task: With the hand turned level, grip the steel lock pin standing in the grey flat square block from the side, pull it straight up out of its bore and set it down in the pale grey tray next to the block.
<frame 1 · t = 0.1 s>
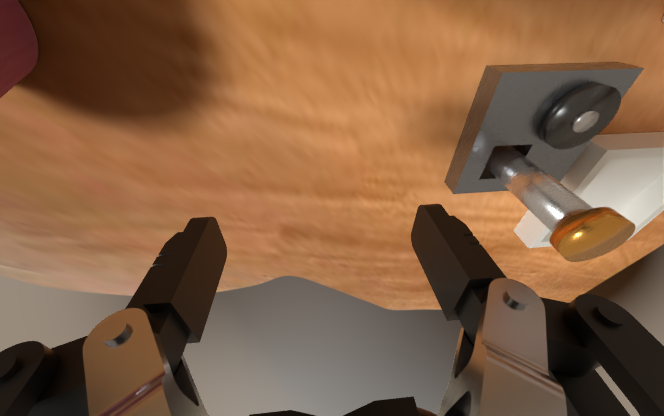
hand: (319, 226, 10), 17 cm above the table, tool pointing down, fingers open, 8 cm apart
tray: (595, 187, 34), on the table
lock pin: (491, 151, 29), resting in grey flat square block
grey flat square block: (518, 130, 27), on the table
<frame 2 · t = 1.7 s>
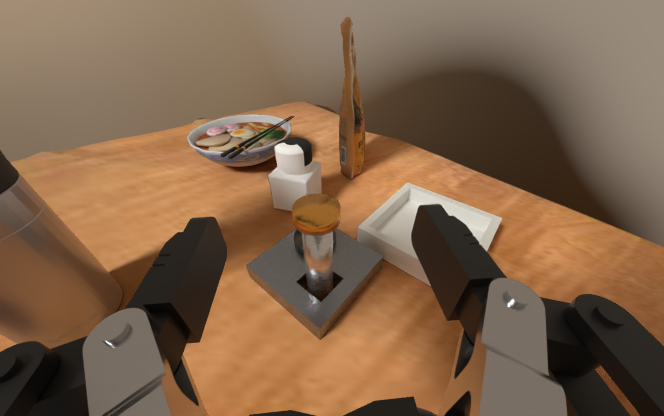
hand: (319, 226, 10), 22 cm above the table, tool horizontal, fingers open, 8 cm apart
tray: (425, 238, 40), on the table
pancake mix bag: (349, 162, 60), on the table
lock pin: (320, 292, 32), resting in grey flat square block
medicine bottle: (298, 201, 48), on the table
grey flat square block: (316, 272, 35), on the table
ramen bowl: (248, 160, 61), on the table
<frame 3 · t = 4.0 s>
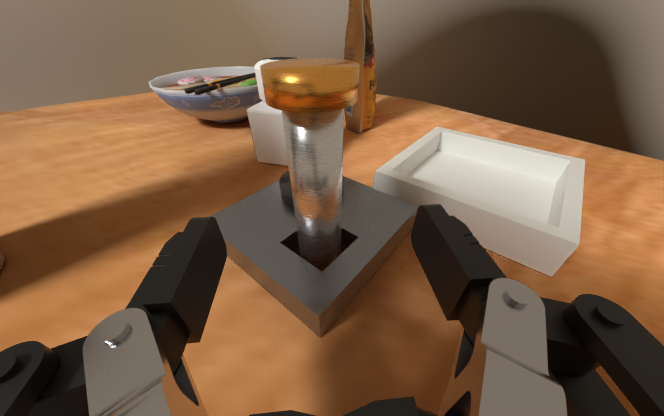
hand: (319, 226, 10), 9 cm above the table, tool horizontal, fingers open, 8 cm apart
tray: (471, 193, 28), on the table
pancake mix bag: (356, 119, 48), on the table
lock pin: (320, 261, 20), resting in grey flat square block
medicine bottle: (291, 156, 36), on the table
grey flat square block: (315, 234, 23), on the table
ramen bowl: (230, 118, 50), on the table
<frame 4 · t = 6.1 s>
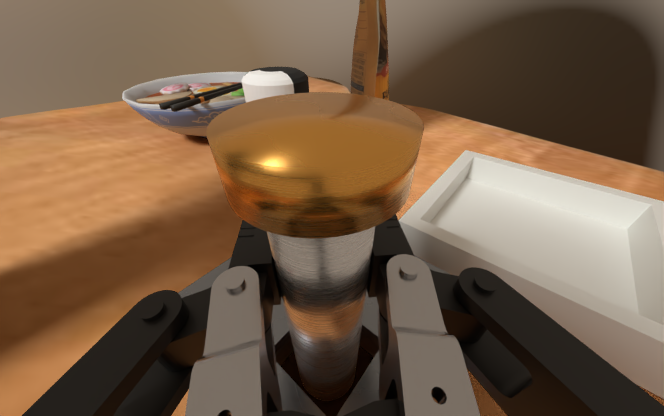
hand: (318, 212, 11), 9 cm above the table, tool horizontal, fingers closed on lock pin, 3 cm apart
tray: (519, 242, 22), on the table
pancake mix bag: (364, 133, 42), on the table
lock pin: (327, 366, 14), resting in grey flat square block, touching gripper
medicine bottle: (289, 183, 30), on the table
grey flat square block: (319, 314, 17), on the table
ramen bowl: (221, 131, 44), on the table
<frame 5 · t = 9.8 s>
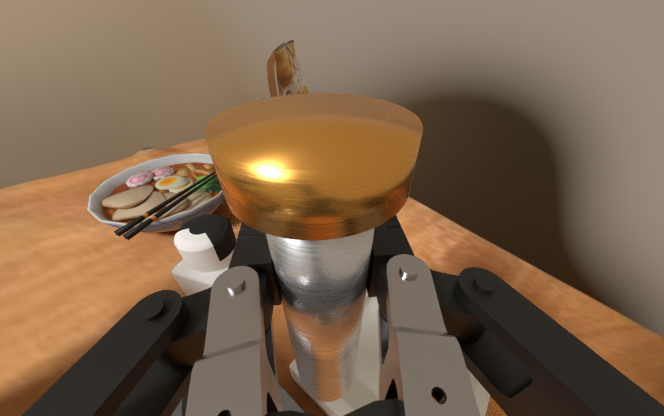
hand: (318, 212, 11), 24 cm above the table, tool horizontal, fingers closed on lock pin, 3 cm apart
tray: (395, 366, 28), on the table
pancake mix bag: (310, 217, 48), on the table
lock pin: (327, 367, 14), point 15 cm above the table, touching gripper
medicine bottle: (229, 289, 35), on the table
ramen bowl: (183, 214, 49), on the table
when the fingers open (11 cm above the table, at t = 13.3 s): lock pin drops 1 cm, resting on tray.
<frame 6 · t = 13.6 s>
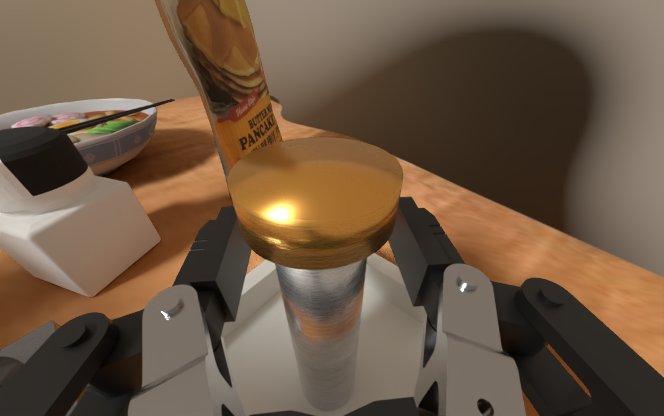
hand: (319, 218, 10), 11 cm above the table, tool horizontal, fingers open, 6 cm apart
tray: (327, 381, 16), on the table
pancake mix bag: (256, 174, 36), on the table
lock pin: (327, 378, 15), point 1 cm above the table, touching tray
medicine bottle: (105, 259, 24), on the table
ramen bowl: (93, 171, 37), on the table
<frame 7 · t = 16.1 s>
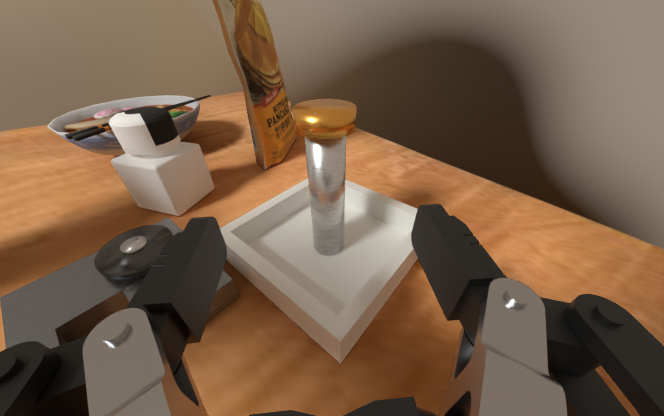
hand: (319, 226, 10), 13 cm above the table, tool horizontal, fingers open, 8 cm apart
tray: (328, 249, 27), on the table
pancake mix bag: (274, 150, 48), on the table
lock pin: (328, 244, 26), point 1 cm above the table, touching tray
medicine bottle: (179, 199, 35), on the table
grey flat square block: (134, 304, 22), on the table
ramen bowl: (151, 149, 49), on the table
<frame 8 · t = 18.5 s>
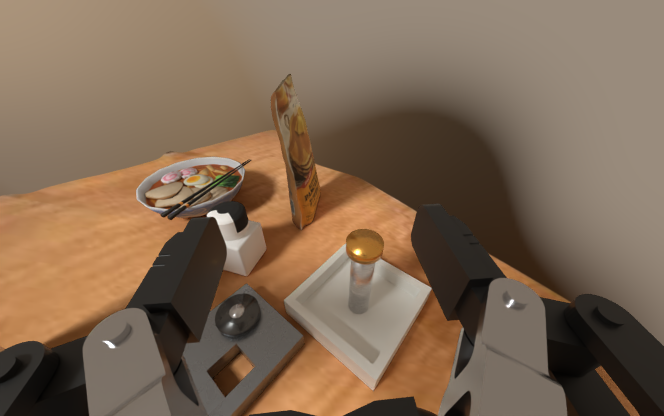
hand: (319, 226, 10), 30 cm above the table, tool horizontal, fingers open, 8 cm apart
tray: (357, 306, 40), on the table
pancake mix bag: (304, 208, 60), on the table
lock pin: (358, 304, 39), point 1 cm above the table, touching tray
medicine bottle: (242, 258, 48), on the table
grey flat square block: (238, 350, 35), on the table
ramen bowl: (204, 205, 62), on the table
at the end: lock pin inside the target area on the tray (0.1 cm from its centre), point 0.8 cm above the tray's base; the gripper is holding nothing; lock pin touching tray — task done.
